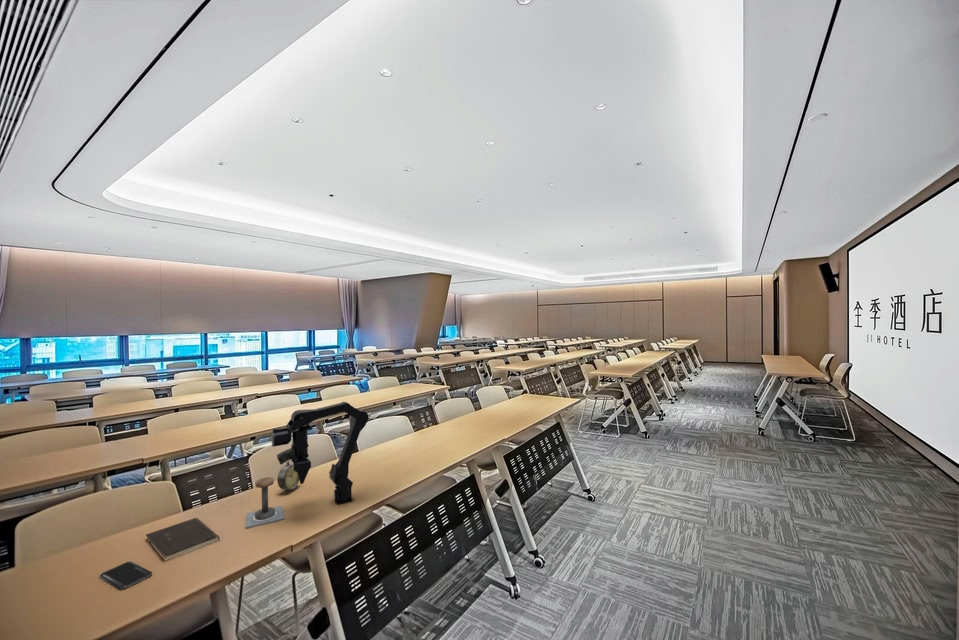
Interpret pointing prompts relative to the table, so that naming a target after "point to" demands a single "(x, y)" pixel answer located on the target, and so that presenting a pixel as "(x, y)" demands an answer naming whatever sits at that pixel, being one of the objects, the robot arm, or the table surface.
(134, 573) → the phone
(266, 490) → the stool
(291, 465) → the alarm clock
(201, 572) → the table surface
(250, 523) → the mat
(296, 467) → the robot arm
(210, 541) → the hardcover book
